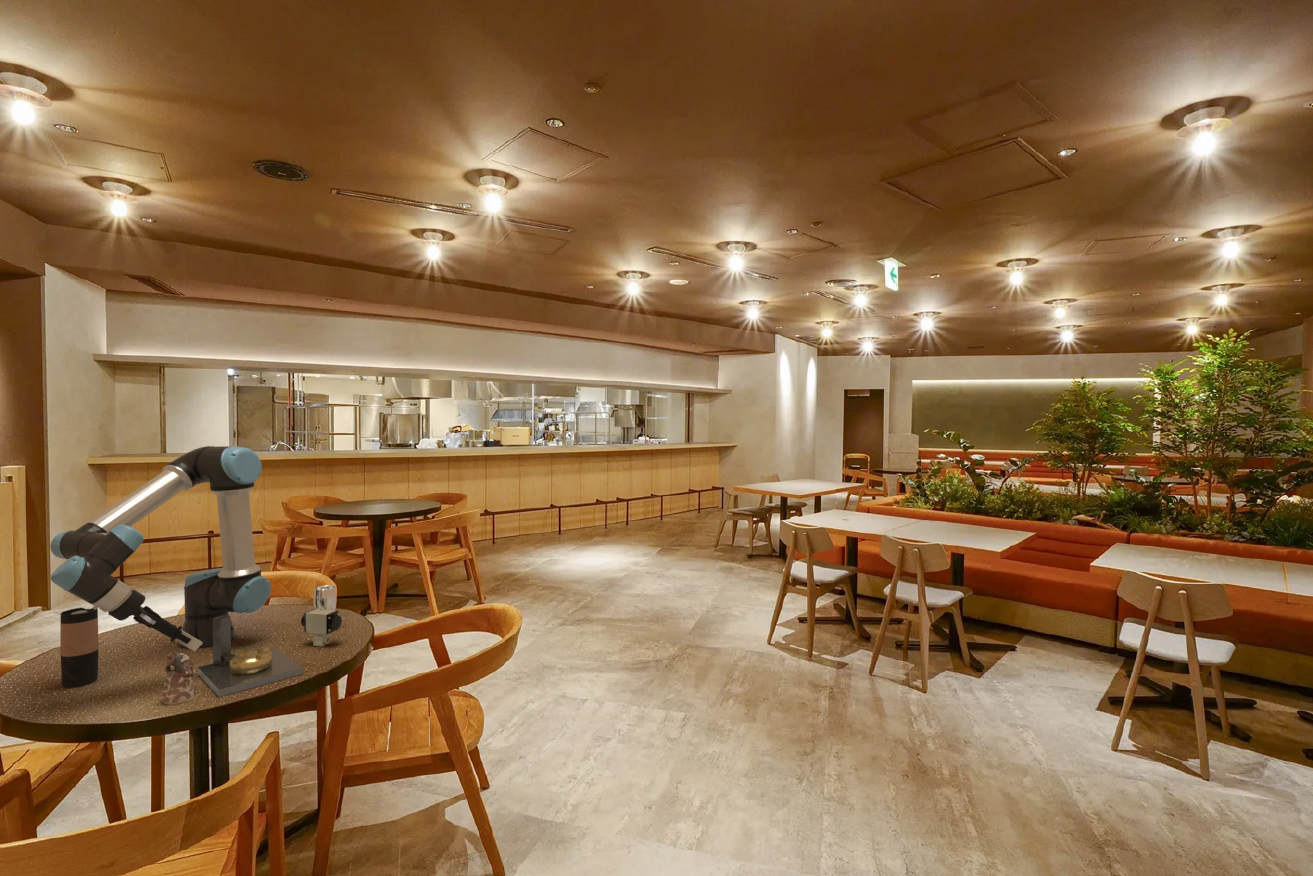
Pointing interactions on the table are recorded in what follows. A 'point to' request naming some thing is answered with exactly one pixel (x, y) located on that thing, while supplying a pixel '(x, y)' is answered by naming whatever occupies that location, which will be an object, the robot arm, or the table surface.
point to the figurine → (179, 680)
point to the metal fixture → (242, 659)
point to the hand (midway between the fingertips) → (198, 646)
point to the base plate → (230, 683)
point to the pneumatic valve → (321, 624)
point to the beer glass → (325, 597)
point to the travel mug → (79, 647)
